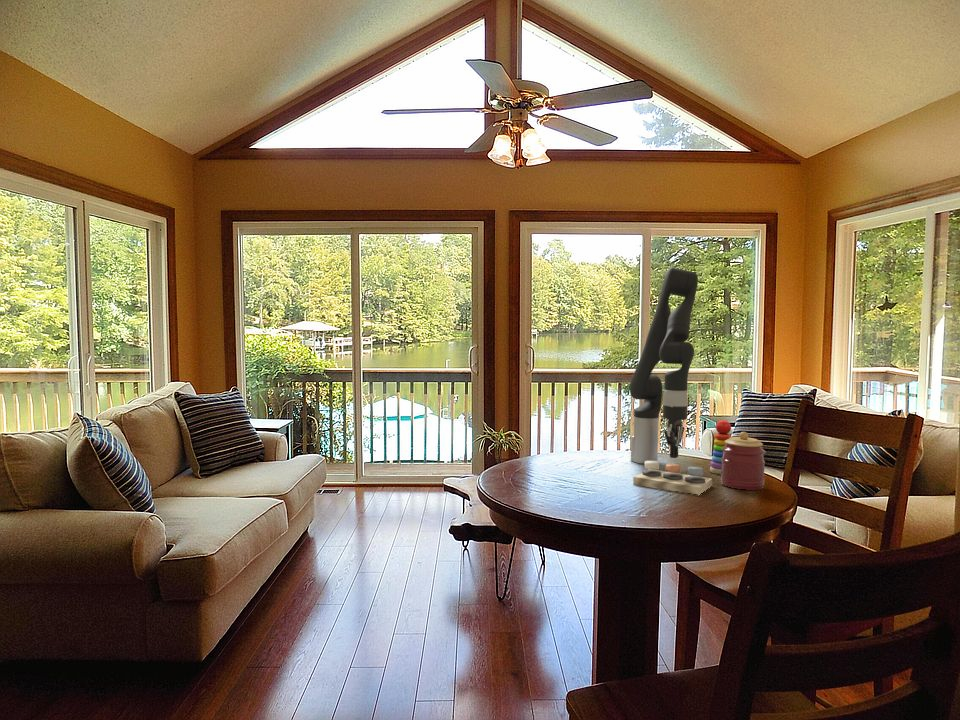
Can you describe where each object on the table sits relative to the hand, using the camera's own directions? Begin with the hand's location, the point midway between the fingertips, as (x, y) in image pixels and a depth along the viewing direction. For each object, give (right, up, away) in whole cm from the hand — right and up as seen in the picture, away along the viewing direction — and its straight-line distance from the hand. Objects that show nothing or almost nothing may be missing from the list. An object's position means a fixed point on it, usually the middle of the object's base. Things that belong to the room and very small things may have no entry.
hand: (673, 457), depth 189 cm
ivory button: (-6, -4, +4) cm, 8 cm away
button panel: (0, -9, 0) cm, 9 cm away
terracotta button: (0, -5, 0) cm, 5 cm away
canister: (+23, -10, +1) cm, 25 cm away
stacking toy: (+23, -9, +19) cm, 31 cm away
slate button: (+5, -5, -4) cm, 8 cm away
